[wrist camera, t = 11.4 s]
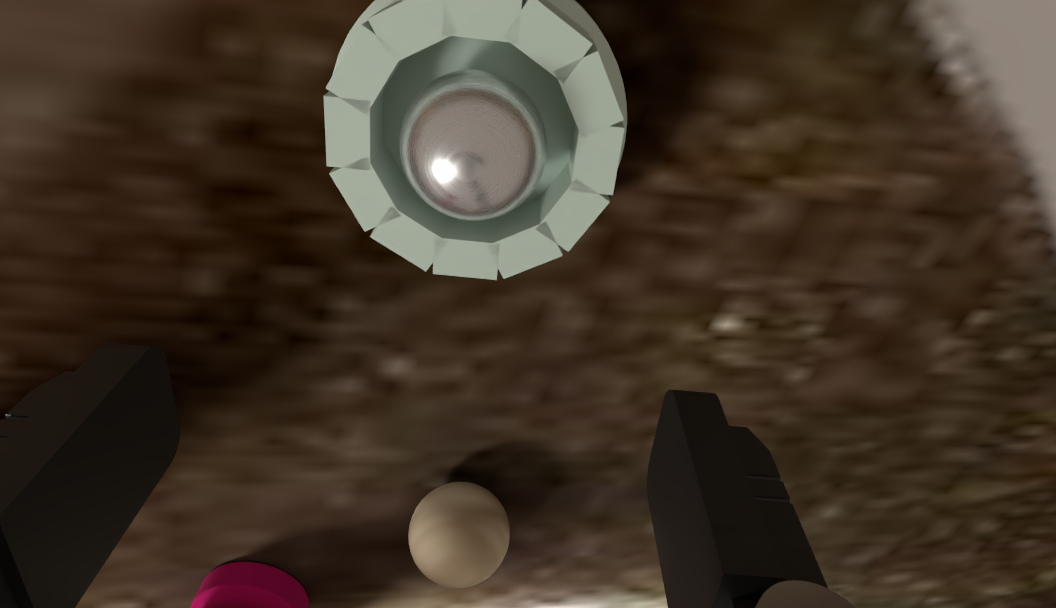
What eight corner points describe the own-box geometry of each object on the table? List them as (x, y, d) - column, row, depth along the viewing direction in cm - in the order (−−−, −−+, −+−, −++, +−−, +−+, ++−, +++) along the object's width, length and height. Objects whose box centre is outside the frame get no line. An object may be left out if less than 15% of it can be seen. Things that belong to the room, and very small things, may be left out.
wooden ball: (530, 489, 36) (529, 568, 32) (477, 542, 38) (469, 623, 34) (449, 445, 35) (437, 522, 30) (398, 503, 37) (380, 583, 33)
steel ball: (574, 113, 25) (580, 152, 21) (496, 216, 27) (488, 271, 23) (460, 27, 24) (442, 50, 20) (387, 142, 26) (356, 186, 22)
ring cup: (684, 87, 26) (704, 111, 23) (514, 294, 30) (512, 337, 27) (435, -114, 23) (419, -117, 20) (286, 150, 27) (255, 181, 24)
